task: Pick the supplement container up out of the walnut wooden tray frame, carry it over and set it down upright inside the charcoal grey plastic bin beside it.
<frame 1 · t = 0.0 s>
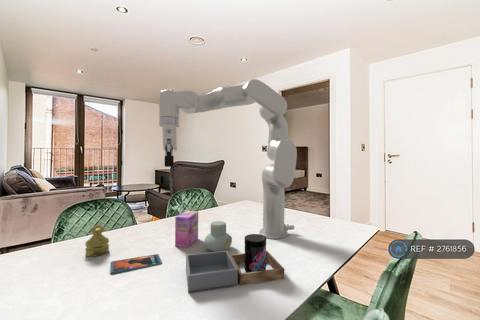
hand: (169, 166, 94), 31 cm above the table, tool pointing down, fingers open, 9 cm apart
supplement container: (255, 271, 73), on the table
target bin: (209, 276, 69), on the table
air freshener: (218, 249, 90), on the table
box: (187, 242, 96), on the table
olive green tiered piece: (97, 253, 86), on the table
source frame: (255, 270, 73), on the table
smartphone: (136, 265, 77), on the table
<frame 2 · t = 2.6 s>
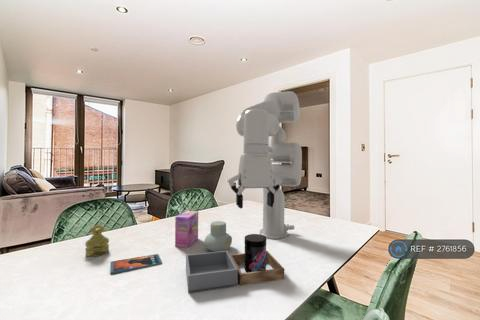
hand: (255, 206, 72), 20 cm above the table, tool pointing down, fingers open, 9 cm apart
nothing on the table moved.
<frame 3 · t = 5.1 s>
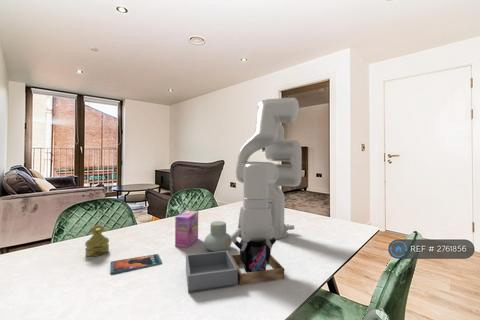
hand: (255, 260, 73), 3 cm above the table, tool pointing down, fingers closed on supplement container, 6 cm apart
supplement container: (255, 271, 73), on the table, touching gripper
everything else where it was.
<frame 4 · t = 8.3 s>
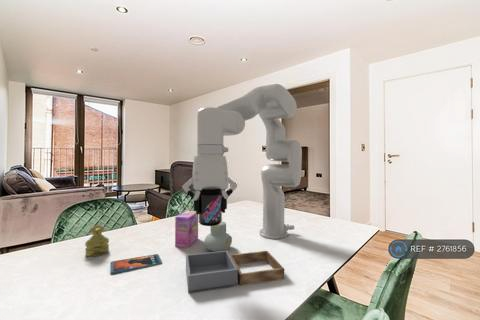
hand: (210, 212, 69), 19 cm above the table, tool pointing down, fingers closed on supplement container, 6 cm apart
supplement container: (210, 223, 69), point 16 cm above the table, touching gripper
everything else where it was.
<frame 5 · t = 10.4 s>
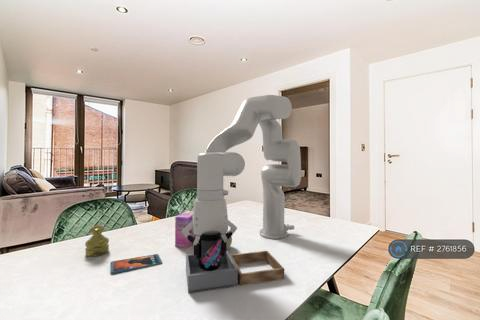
hand: (210, 255, 69), 6 cm above the table, tool pointing down, fingers closed on supplement container, 6 cm apart
supplement container: (210, 267, 69), point 3 cm above the table, touching gripper
everything else where it was.
when the fingers open (5 cm above the table, at t = 11.7 s): supplement container drops 1 cm, resting on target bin.
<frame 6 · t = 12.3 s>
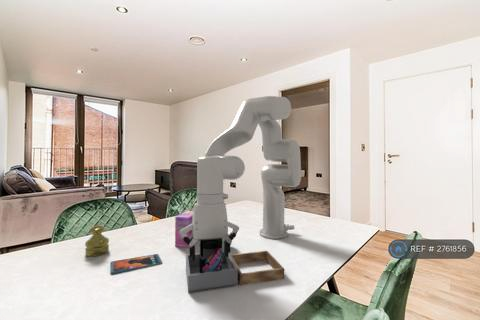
hand: (210, 257, 69), 6 cm above the table, tool pointing down, fingers open, 9 cm apart
supplement container: (210, 275, 69), resting on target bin
everything else where it was.
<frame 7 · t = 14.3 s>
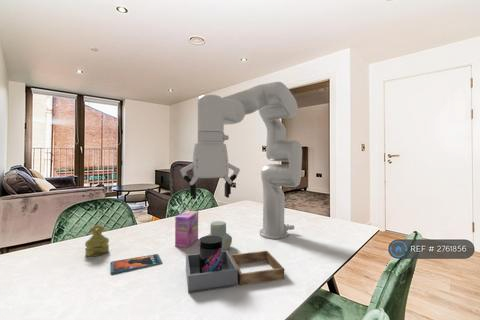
hand: (210, 197, 69), 23 cm above the table, tool pointing down, fingers open, 9 cm apart
nothing on the table moved.
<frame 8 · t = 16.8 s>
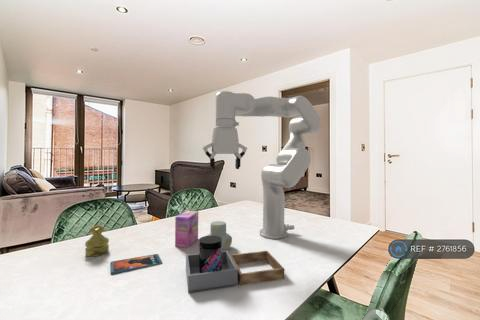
hand: (225, 168, 92), 30 cm above the table, tool pointing down, fingers open, 9 cm apart
nothing on the table moved.
at the end: supplement container inside the target area on the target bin (0.3 cm from its centre), point 0.4 cm above the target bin's base; supplement container tilted 2°; the gripper is holding nothing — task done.
